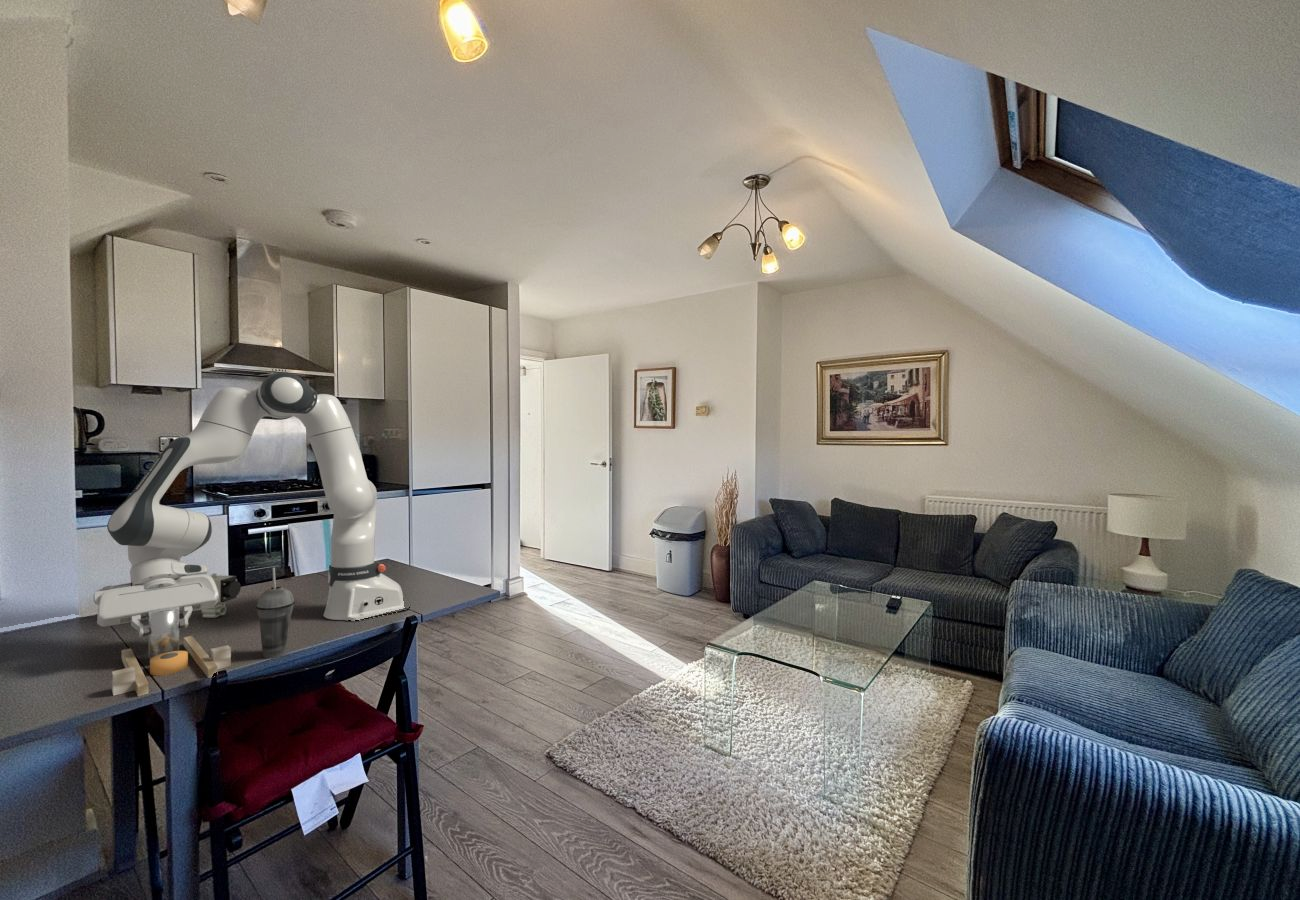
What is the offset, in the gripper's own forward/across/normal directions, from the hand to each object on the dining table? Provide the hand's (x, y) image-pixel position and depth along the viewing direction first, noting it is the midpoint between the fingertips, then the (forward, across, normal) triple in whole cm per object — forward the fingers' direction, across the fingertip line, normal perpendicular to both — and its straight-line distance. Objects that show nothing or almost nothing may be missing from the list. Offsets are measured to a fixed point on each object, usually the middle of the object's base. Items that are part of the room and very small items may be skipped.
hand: (164, 631), depth 116 cm
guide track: (+8, 0, +2) cm, 8 cm away
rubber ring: (+9, 0, +1) cm, 9 cm away
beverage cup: (+14, +17, -4) cm, 23 cm away
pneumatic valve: (-16, +14, +26) cm, 34 cm away
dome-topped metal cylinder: (+3, 0, +4) cm, 5 cm away
